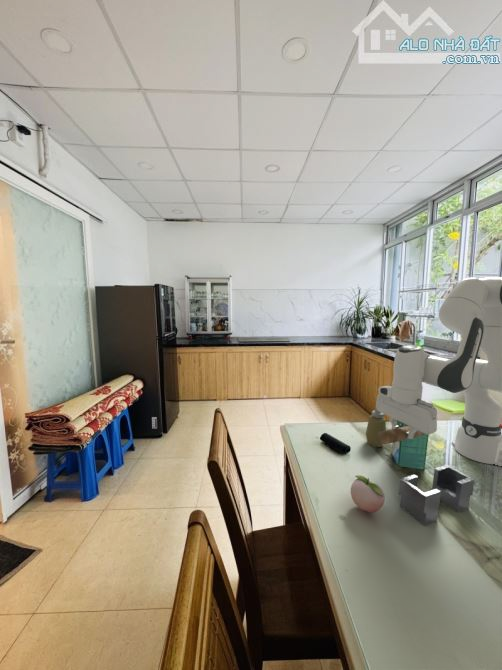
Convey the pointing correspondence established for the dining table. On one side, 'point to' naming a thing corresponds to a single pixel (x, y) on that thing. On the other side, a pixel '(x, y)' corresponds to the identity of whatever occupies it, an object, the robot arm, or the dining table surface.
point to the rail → (396, 435)
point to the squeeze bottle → (375, 428)
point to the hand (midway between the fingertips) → (402, 434)
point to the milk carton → (410, 451)
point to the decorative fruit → (367, 494)
